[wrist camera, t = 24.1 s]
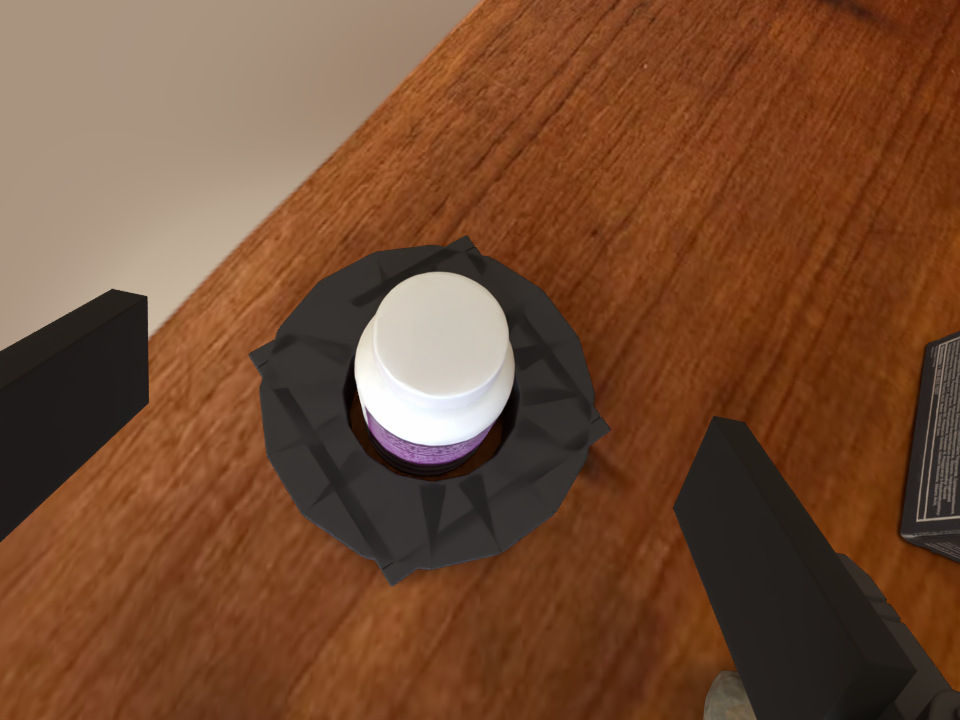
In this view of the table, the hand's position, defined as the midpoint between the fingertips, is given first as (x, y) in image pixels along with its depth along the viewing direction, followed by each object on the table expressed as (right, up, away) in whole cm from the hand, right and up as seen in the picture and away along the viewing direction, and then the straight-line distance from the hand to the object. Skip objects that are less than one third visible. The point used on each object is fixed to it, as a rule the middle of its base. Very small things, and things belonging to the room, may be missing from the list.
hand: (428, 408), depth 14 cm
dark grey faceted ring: (-1, -1, +12) cm, 13 cm away
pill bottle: (-1, -1, +13) cm, 13 cm away
